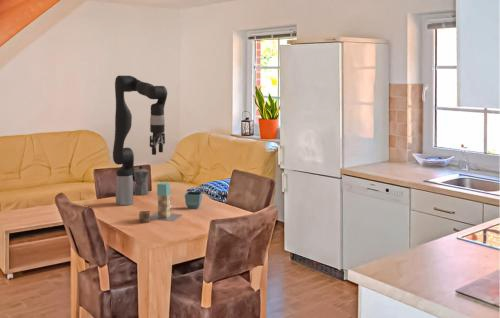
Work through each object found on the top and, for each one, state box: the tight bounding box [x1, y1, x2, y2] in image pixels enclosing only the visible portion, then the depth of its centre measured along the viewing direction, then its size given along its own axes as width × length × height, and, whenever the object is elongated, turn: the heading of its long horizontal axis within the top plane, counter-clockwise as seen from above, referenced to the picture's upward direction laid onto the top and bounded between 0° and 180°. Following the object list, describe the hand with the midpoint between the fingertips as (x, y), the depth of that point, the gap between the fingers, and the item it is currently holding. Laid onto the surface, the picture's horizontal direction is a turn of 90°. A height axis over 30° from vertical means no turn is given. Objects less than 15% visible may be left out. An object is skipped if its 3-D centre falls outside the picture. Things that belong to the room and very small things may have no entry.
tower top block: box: [157, 193, 171, 208], centre depth 290 cm, size 5×5×6 cm
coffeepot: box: [133, 165, 150, 196], centre depth 352 cm, size 15×9×18 cm, turn 54°
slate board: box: [150, 212, 183, 222], centre depth 291 cm, size 16×14×1 cm
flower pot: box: [184, 191, 203, 210], centre depth 314 cm, size 9×9×9 cm
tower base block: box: [157, 204, 171, 218], centre depth 291 cm, size 5×5×6 cm
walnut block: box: [138, 210, 151, 224], centre depth 282 cm, size 5×5×6 cm
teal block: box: [156, 182, 171, 196], centre depth 289 cm, size 5×5×6 cm
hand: (157, 153), depth 296 cm, fingers open, 8 cm apart
